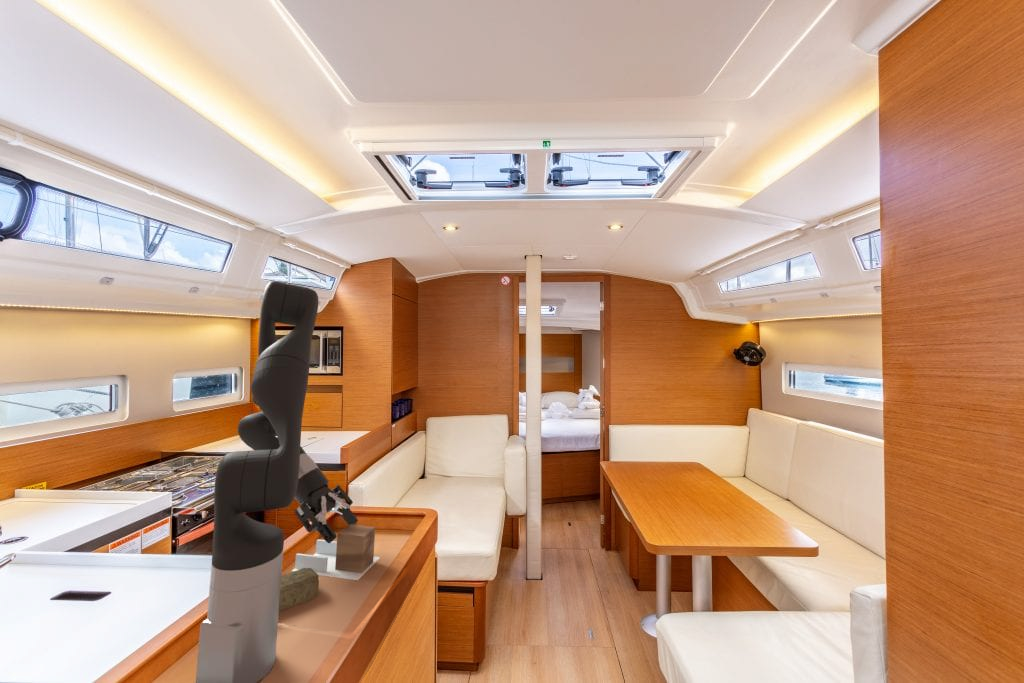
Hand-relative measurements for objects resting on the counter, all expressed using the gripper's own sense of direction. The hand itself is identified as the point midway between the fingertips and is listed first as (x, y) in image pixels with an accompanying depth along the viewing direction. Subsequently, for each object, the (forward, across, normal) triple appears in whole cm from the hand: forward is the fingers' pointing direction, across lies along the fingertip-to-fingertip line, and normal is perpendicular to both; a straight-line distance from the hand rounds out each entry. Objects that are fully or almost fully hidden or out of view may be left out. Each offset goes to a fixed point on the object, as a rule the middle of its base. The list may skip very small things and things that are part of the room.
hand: (344, 532), depth 89 cm
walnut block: (+7, 0, +3) cm, 8 cm away
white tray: (+3, 0, +8) cm, 9 cm away
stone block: (+4, -15, +8) cm, 17 cm away
